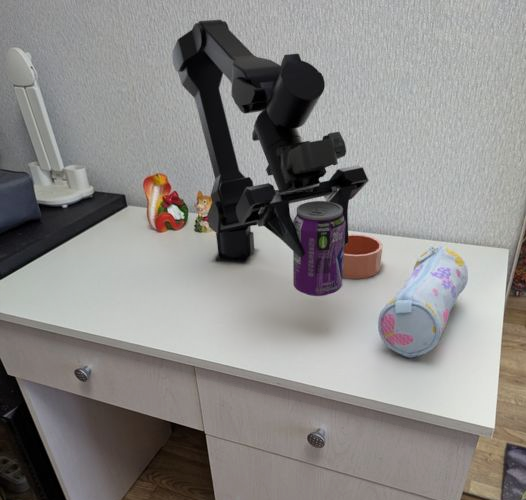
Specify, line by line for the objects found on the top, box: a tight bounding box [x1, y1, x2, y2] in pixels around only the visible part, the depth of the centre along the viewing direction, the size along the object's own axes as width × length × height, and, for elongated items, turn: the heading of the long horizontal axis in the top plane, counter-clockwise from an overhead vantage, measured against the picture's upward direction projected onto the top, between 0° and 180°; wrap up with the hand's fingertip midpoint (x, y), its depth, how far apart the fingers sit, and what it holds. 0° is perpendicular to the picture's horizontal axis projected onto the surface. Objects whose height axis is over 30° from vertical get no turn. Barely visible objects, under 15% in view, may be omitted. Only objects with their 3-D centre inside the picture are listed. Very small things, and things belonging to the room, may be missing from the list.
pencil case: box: [377, 245, 469, 358], centre depth 73 cm, size 21×9×10 cm, turn 151°
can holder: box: [342, 233, 384, 280], centre depth 92 cm, size 10×10×4 cm
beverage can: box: [292, 200, 346, 297], centre depth 69 cm, size 7×7×12 cm
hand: (324, 249), depth 68 cm, fingers closed on beverage can, 7 cm apart
